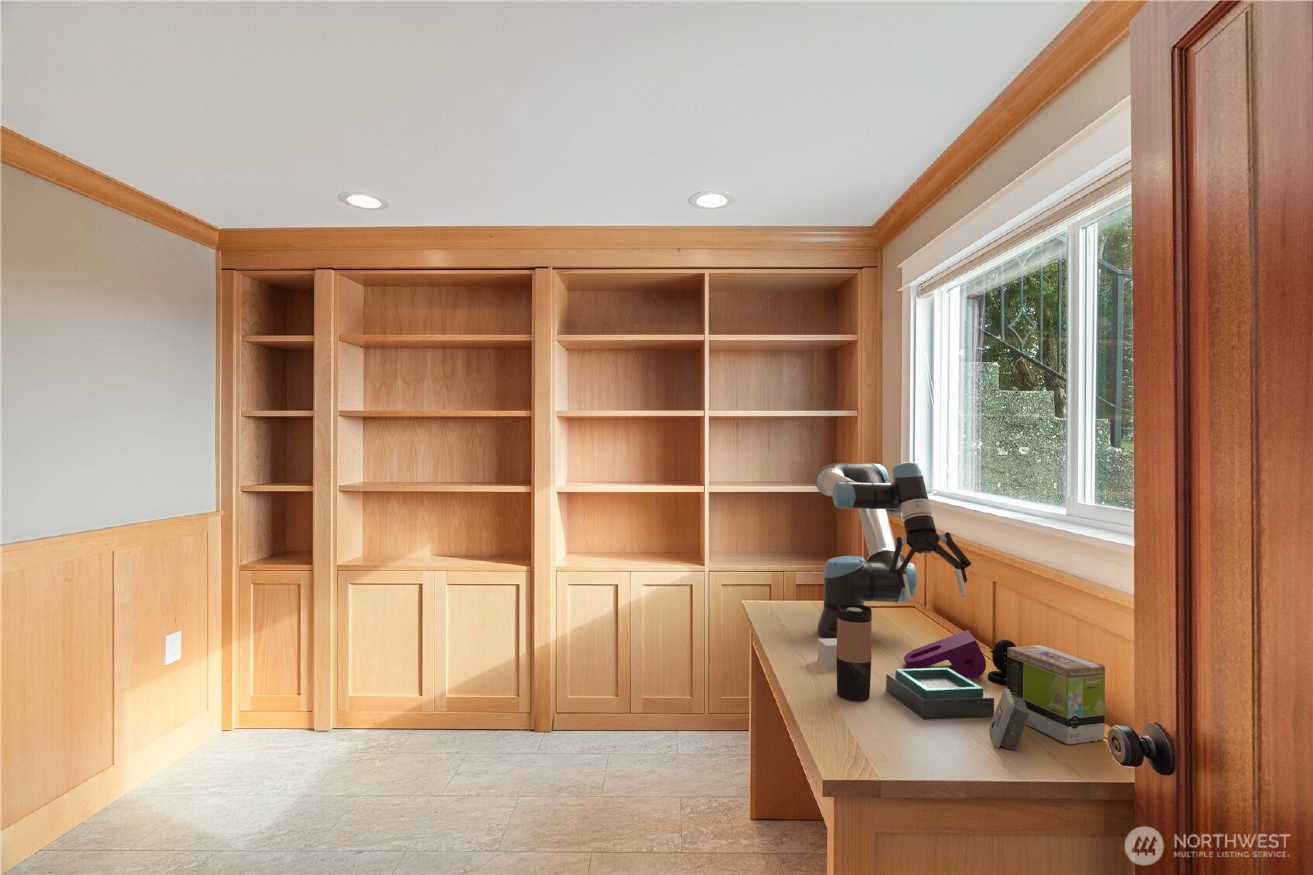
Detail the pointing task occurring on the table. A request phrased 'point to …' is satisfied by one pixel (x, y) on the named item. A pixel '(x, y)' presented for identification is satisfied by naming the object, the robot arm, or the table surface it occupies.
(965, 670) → the mounting bracket
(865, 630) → the travel mug
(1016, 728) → the electrical switch
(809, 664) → the table surface
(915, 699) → the block with teal frame
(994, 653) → the webcam
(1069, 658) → the tea box
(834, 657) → the light grey cube
